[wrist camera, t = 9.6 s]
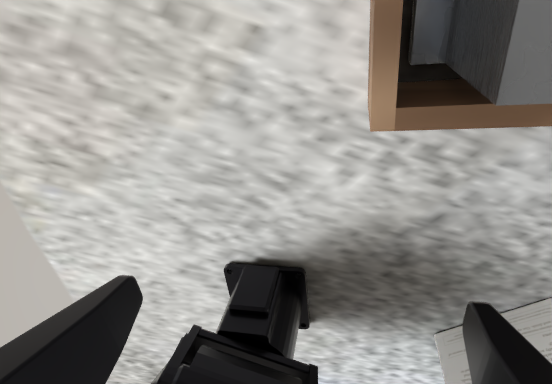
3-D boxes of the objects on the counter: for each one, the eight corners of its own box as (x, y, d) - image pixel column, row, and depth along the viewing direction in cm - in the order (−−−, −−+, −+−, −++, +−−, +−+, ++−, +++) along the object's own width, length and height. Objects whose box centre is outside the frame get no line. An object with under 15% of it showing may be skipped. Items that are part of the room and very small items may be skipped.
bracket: (518, 53, 16) (637, 100, 9) (407, 60, 17) (441, 107, 10) (549, -79, 14) (743, -146, 7) (418, -60, 15) (471, -101, 8)
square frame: (557, 93, 17) (615, 124, 13) (367, 102, 19) (370, 131, 15) (631, -157, 12) (753, -222, 9) (373, -109, 14) (378, -144, 11)
